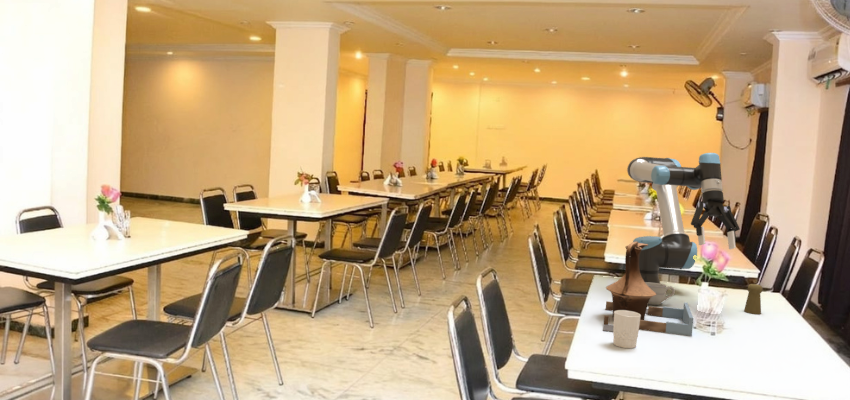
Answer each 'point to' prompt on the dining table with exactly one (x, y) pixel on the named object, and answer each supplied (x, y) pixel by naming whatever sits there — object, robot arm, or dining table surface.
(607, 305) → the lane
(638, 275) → the pitcher
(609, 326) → the mat
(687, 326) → the pocket
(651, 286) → the teacup
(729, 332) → the dining table surface
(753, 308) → the cork
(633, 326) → the beige tumbler
